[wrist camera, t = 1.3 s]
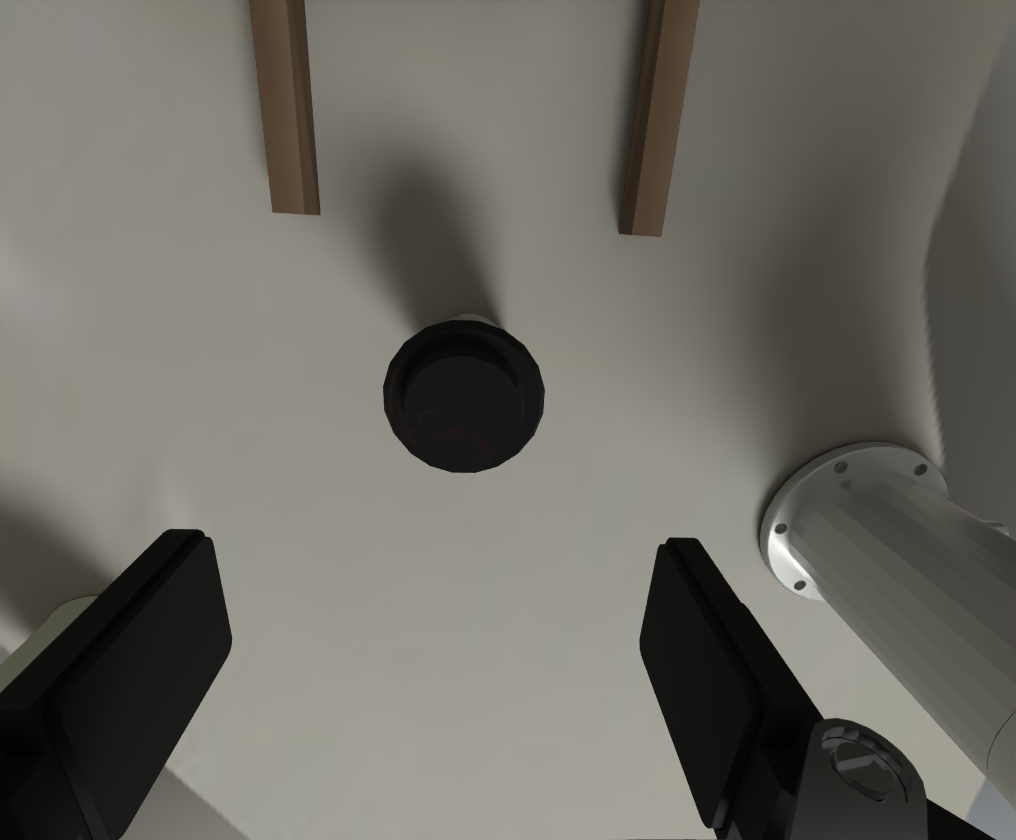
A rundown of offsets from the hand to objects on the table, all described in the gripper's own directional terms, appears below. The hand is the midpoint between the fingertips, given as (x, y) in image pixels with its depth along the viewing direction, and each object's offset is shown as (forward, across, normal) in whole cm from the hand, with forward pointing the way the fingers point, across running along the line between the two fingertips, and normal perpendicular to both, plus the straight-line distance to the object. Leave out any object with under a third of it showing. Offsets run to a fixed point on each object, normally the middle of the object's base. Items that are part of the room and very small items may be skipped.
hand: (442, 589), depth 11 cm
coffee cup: (+20, 0, 0) cm, 20 cm away
